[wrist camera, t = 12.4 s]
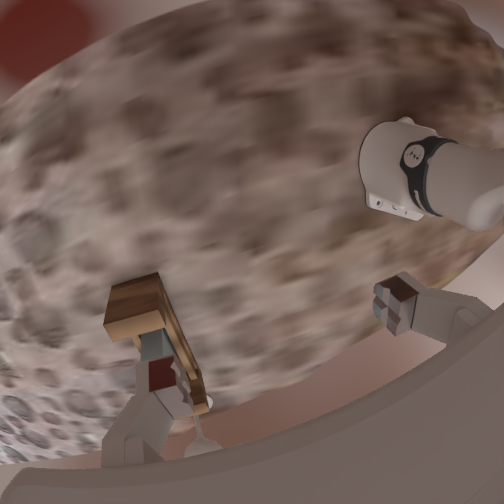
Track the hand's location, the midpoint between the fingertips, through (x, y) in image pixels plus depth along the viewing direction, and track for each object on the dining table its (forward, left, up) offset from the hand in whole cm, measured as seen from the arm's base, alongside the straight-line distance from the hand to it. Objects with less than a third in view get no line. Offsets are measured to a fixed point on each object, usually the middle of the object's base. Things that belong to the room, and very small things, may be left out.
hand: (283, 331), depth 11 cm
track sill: (-4, +28, -33) cm, 44 cm away
